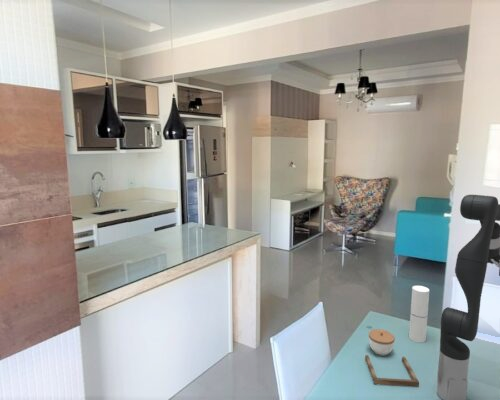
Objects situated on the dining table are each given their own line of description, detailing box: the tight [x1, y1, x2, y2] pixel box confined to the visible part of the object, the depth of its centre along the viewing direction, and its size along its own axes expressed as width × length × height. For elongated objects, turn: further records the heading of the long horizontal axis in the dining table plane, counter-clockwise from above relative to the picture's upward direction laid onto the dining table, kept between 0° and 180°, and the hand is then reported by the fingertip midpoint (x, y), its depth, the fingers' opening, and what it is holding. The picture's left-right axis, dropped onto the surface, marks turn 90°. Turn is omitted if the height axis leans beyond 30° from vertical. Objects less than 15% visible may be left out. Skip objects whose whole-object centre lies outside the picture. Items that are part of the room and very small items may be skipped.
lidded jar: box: [368, 328, 396, 356], centre depth 153 cm, size 11×11×9 cm
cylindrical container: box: [408, 285, 430, 344], centre depth 162 cm, size 7×7×25 cm
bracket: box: [364, 354, 420, 388], centre depth 140 cm, size 16×16×2 cm
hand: (489, 272), depth 161 cm, fingers open, 8 cm apart
